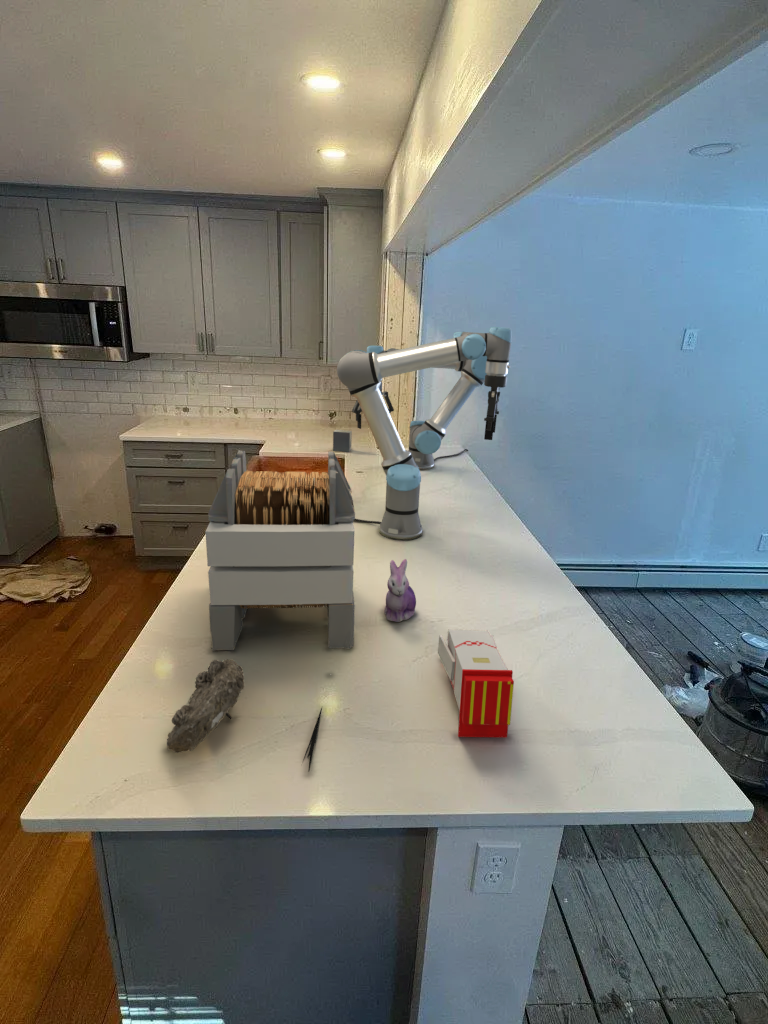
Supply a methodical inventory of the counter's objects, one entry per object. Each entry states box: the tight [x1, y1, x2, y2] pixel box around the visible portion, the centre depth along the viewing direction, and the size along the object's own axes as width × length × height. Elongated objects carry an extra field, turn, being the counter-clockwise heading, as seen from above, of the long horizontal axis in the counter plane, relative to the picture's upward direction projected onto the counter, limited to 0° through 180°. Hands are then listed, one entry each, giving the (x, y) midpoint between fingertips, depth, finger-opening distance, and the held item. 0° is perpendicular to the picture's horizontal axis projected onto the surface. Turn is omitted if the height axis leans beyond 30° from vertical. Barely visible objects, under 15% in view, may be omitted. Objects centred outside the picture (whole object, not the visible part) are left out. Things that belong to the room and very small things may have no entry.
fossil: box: [166, 658, 245, 754], centre depth 106 cm, size 22×10×15 cm
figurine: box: [384, 558, 417, 623], centre depth 145 cm, size 9×10×15 cm
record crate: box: [204, 449, 356, 652], centre depth 138 cm, size 34×33×41 cm
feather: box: [301, 673, 332, 771], centre depth 108 cm, size 2×28×2 cm
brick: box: [332, 429, 353, 453], centre depth 310 cm, size 6×9×11 cm, turn 82°
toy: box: [437, 628, 515, 738], centre depth 117 cm, size 12×13×30 cm
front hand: (489, 435), depth 201 cm, fingers open, 13 cm apart
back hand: (372, 427), depth 265 cm, fingers open, 13 cm apart
